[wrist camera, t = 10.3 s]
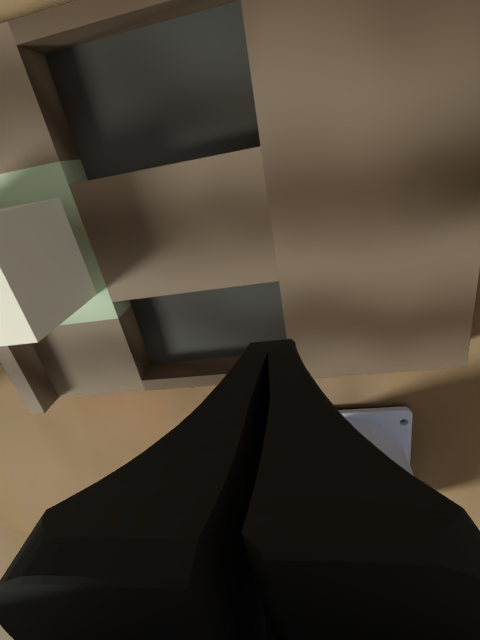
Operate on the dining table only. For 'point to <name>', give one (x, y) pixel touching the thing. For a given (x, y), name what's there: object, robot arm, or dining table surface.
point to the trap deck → (248, 184)
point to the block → (39, 272)
